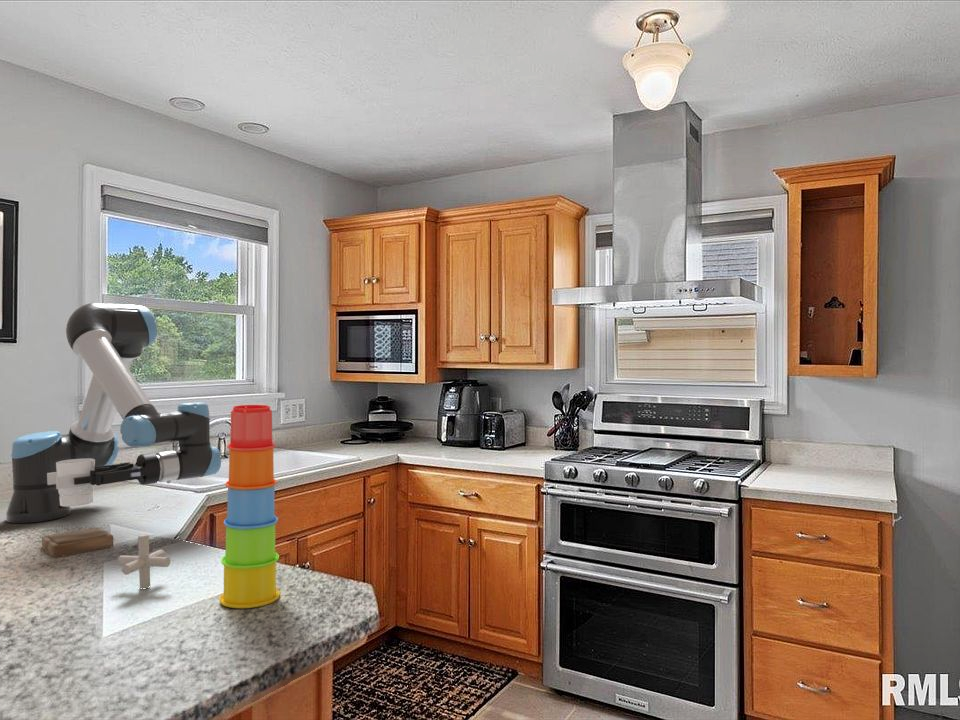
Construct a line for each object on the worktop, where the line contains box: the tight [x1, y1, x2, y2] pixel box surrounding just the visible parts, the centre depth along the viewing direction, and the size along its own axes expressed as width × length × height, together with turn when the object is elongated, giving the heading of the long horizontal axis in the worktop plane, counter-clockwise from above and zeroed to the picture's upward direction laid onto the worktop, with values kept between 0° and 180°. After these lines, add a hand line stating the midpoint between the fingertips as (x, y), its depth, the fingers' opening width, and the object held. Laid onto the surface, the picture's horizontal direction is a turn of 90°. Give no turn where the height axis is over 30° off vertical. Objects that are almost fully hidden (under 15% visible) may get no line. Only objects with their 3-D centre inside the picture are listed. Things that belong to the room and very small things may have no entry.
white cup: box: [56, 458, 95, 508], centre depth 163 cm, size 8×8×10 cm
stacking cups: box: [218, 404, 281, 609], centre depth 125 cm, size 10×10×35 cm
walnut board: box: [41, 526, 115, 559], centre depth 163 cm, size 12×12×3 cm
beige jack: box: [117, 533, 172, 590], centre depth 133 cm, size 10×10×10 cm
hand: (52, 481), depth 160 cm, fingers closed on white cup, 8 cm apart
